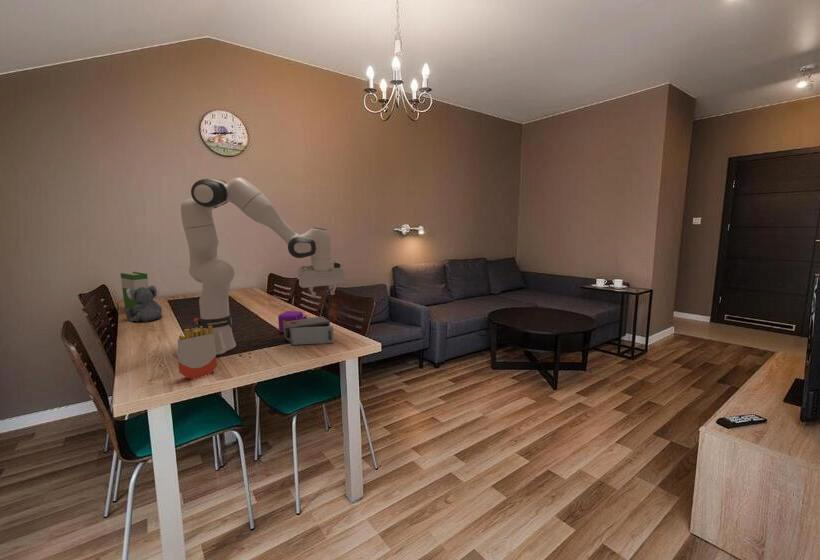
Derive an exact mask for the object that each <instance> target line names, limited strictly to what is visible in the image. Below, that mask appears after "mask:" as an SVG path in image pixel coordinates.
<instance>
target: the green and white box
mask: <svg viewBox="0 0 820 560" xmlns="http://www.w3.org/2000/svg"><path fill="white" fill-rule="evenodd" d="M120 281H121V288H122V289H121V290H122V296H123V303H124V304H123V305H124V311H125V310H127V309H128V308H132V309H133V308H134V306H135V305H138V304H137V303H136V302H135V301H134V300H131V299H130V298H128V295H127V293H126V291H127V289H135V290H136V289H138V288H139V287H146V288H148V287H150V286H149V278H148V273H144V272H143V273H142V272H136V271H132V272H131V273H124V272H122V273H121V272H120Z"/></svg>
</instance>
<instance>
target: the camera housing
mask: <svg viewBox="0 0 820 560" xmlns="http://www.w3.org/2000/svg"><path fill="white" fill-rule="evenodd" d="M325 326H331V320H329V319H327V318H325V317H323V316H316V317H315V316H314V317H307V319H300V320H294V321H287V322H285V328H284V333H283V334H284V338H285V339H286V341H288V342H289V343H290V344H291V332H290V328H303V327H325Z"/></svg>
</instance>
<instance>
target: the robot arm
mask: <svg viewBox="0 0 820 560" xmlns="http://www.w3.org/2000/svg"><path fill="white" fill-rule="evenodd" d="M190 194H191V198H187V199H184V201H182V202H181V204H180V215H181V222H182V226H183V231H184V234H185V237H186V243H187V246H188V250H189V251H188V252H189V267H188V271H189V275H190V277H192V279H194V280H195V281H196V282H198V283H200V284H201V285H202V288H201V295H200V297H199V299H198V302H199V303H198V304H199V305H198V306H199V315H200V317H195V318H193V322H194V324H195V328H194V331H199V330H200V326H202V327H203V329H204V328H206V329H207V333H208V326H212V331H213V333H214V340H215V350H216V356H217V355H222V354H224V353H227V352H228V351H230V350H233V349H234V348H235V347H237V343H236V341H235V338H234V333H233V330H232V326H233V323H232V322H233V321H232V316H231V314H230V305H229V295H230V288H231V283H232V281H233V280H234V278H235V269H234V268H233V266H232V264H230V263H229V262H227V261H225V260H223V259H218V258H219V257H218V246H219V237H218V235H217V234H218V233H217V229H216V226H215V222H214V218H213V210H214V209H217V208H219V207H221V206H224V205H226V204H227V203H228V202H230V203H231V204H233V205H235V206H236V207H237V208H238V209H239V210H240V211H242V213H243V214H244V215H246V216H247V217H248V218H250V219H251V220H253V221H254V222H256V223H259V224H261V225H263V226H266V227H268V228H269V229H271V231H274V233H275V234H276V235H278V236H279V237H280V238H281V240H283V241H284V242H285V243H286V244H287V250H288V252H289V254H290V255H291V256H292V257H293V258H296V259H304V258H307V257H310V261H311V262H310V264H311V265H302V266H300V267H299V268H298V276H299V277H298V285H299V287H300V288H302V289H306V288H308V290H309V292H310V293H311V297H312V298H314V297H315V298H316V297H317V293H316V292H315V291H314V288H315V287H316V288H317V287H324V286H332V289H331V290H329V292H330V293H329V295H331V296H332V295H333V296H334V295H335V294H336V293H335V291H336V289H337V285H341V284H344V283H345V282H346V275H345V270H344V269H343V266H344V265H343V263H342V262H339V261H336V260H333V258H332V257H333V256H332V254H331V250H332V243H331V242H332V241H331V235H330V232H329V230H327V229H325V228H320V227H311V228H310V229H309V230H307V231H305V232H303V233H299V232H297V231H295V230H294V229H293V228H292V227H291V226H290V225H289V224H288V223H287V222H286V221H285V220H284V219H283V218H282V217H281V215H280V214H279V213H278V212H277V210H276V208H275V207H274V206H273V204H272V202H271V201H270V199H269V198H268V197H267V196H266V195H265V194H264V193H263V192H262V191H261V190H260V189H259V188H258V187H256V186H255V185H254V184H252V183H251V182H250V181H248V180H247V179H246V178H244V177H240V176H237V177H234V178H231V179H230V180H229V181H227V182H226V181H225V180H223V179H219V178H213V177H209V178H203V179H200V180H196V181H195V182H194V183H193V185H192V186H191V189H190ZM190 333H191V331H190ZM190 337H191V335H190ZM184 339H185V336H184ZM176 357H177V358H178V349H177V350H176Z"/></svg>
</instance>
